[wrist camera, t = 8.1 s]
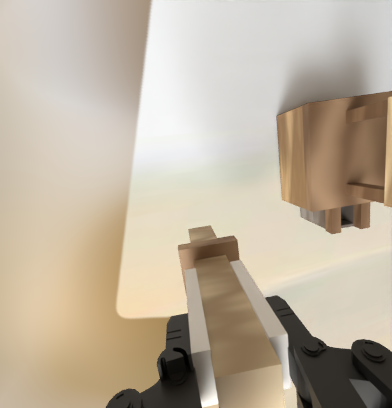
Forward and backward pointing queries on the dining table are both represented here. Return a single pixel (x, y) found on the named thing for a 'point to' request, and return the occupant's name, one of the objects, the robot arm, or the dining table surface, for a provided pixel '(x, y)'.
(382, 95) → the lid
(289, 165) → the toolbox
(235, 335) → the key peg
